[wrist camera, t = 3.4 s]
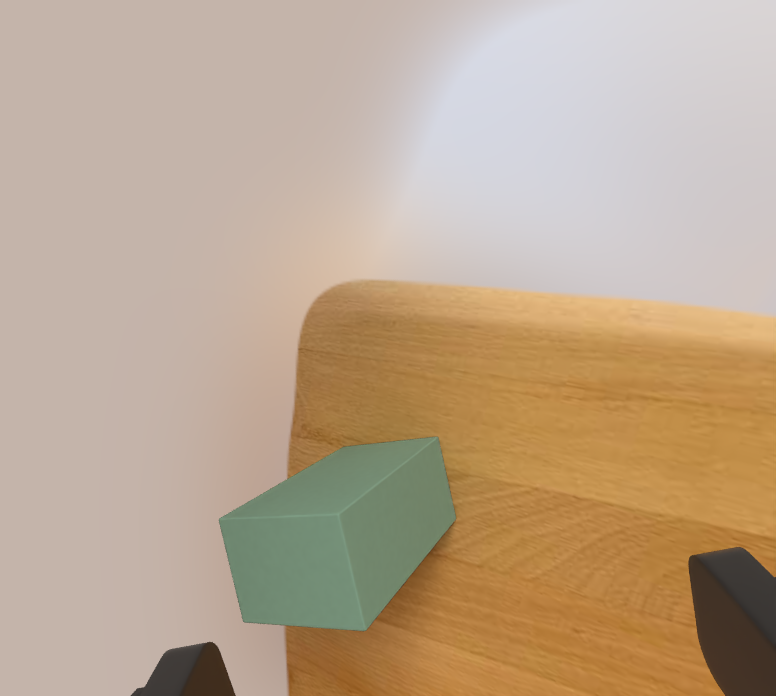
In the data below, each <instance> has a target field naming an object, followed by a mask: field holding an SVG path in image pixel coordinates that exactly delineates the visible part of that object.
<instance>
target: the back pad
mask: <svg viewBox="0 0 776 696" xmlns="http://www.w3.org/2000/svg"><path fill="white" fill-rule="evenodd" d="M455 520H456V515H455V511H454V506H453V502H452V497H451V493H450V488H449V484H448V479H447V475H446V470H445V466H444V461H443V457H442V452H441V448H440V443H439V438H438V437H429V438H420V439H411V440H402V441H393V442H383V443H374V444H365V445H356V446H347V447H342V448H340V449H339V450H337V451H335V452H334V453H332V454H330V455H328V456H327V457H325V458H323V459H321V460H320V461H318V462H316V463H315V464H313V465H311V466H309V467H308V468H306V469H304V470H302V471H301V472H299V473H297V474H296V475H294V476H292V477H290V478H289V479H287V480H285V481H283V482H282V483H280V484H278V485H277V486H275V487H273V488H271V489H270V490H268V491H266V492H264V493H263V494H261V495H259V496H258V497H256V498H254V499H252V500H251V501H249V502H247V503H246V504H244V505H242V506H240V507H239V508H237V509H235V510H233V511H232V512H230V513H228V514H227V515H225V516H223V517H221V518H220V519H219V523H220V527H221V532H222V536H223V539H224V544H225V548H226V552H227V556H228V561H229V565H230V569H231V573H232V577H233V581H234V585H235V589H236V594H237V598H238V602H239V606H240V610H241V614H242V619H243V622H246V623H260V624H273V625H287V626H300V627H314V628H327V629H341V630H354V631H366V630H367V629H368V628H369V626H370V625H371V624H372V623H373V621H374V620H375V619H376V618H377V616H378V615H379V614H380V613H381V611H382V610H383V609H384V608H385V607H386V605H387V604H388V603H389V602H390V600H391V599H392V598H393V597H394V595H395V594H396V593H397V592H398V590H399V589H400V588H401V587H402V585H403V584H404V583H405V582H406V581H407V579H408V578H409V577H410V576H411V574H412V573H413V572H414V571H415V569H416V568H417V567H418V566H419V564H420V563H421V562H422V561H423V559H424V558H425V557H426V556H427V554H428V553H429V552H430V551H431V550H432V548H433V547H434V546H435V545H436V543H437V542H438V541H439V540H440V538H441V537H442V536H443V535H444V533H445V532H446V531H447V530H448V528H449V527H450V526H451V525H452V524H453V522H454V521H455Z"/></svg>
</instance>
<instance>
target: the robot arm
mask: <svg viewBox="0 0 776 696" xmlns="http://www.w3.org/2000/svg"><path fill="white" fill-rule="evenodd" d="M689 574H690V581H691V589H692V596H693V603H694V611H695V618H696V625H697V633H698V639H699V643H700V646H701V650H702V652H703V655H704V658H705V660H706V663H707V665H708V667H709V669H710V671H711V674H712V675H713V677H714V679H715V681H716V682H717V684H718V685H719V687H720V688H721V690H722V691H723V693H724V694H725V696H776V577H773V576H772V575H771V574H770V573H769V572H768V571H767V570H766V569H765V568H764V567H763V566H762V565H761V564H760V563H759V562H758V561H757V560H756V559H755V558H754V557H753V556H752V555H751V554H750V553H749V552H748V551H746V550H745V549H743V548H741V547H735V548H730V549H724V550H719V551H713V552H708V553H703V554H697V555H692V556H690V558H689ZM131 696H236V695H235V693H234V690H233V687H232V685H231V681H230V679H229V676H228V673H227V670H226V667H225V664H224V662H223V659H222V656H221V653H220V651H219V649H218V647H217V646H216V645H215V644H214V643H213V642H207V643H202V644H196V645H191V646H186V647H180V648H175V649H170V650H168V651H166V652H165V653H164V654H163V656H162V658H161V659H160V661H159V663H158V664H157V666H156V668H155V670H154V672H153V673H152V675H151V677H150V679H149V680H148V682H147V684H146V686H145V687H144V688H138V689H137V690H136V691H135V692H134V693H133V694H132V695H131Z"/></svg>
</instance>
